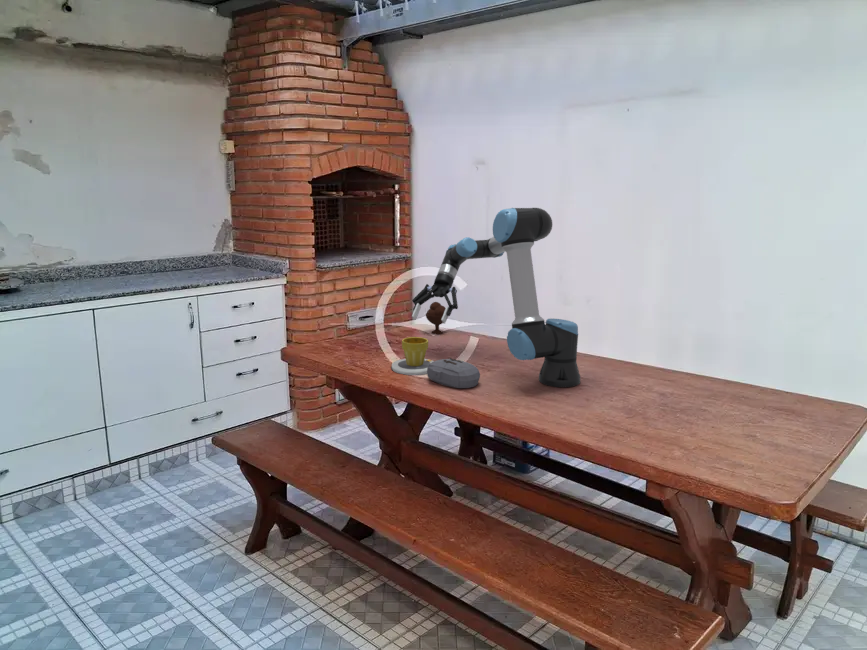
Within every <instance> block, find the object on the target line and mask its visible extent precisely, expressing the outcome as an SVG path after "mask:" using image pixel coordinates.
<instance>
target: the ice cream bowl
mask: <svg viewBox="0 0 867 650" xmlns="http://www.w3.org/2000/svg"><path fill="white" fill-rule="evenodd" d="M445 309H446V306H444V305H442V304H441V303H440V302H438V301H433V302H431V304H430V305H429V309H428V310H427V312H426V313H425V318H426V320H427V321H428V322H429V323H431V324H432V325H433V326H435V327H434V328H435V329H433V330H432V331H431V334H432V335H442V334H443V333H444V332H443V331H442V330H440V325H442V324H444V323H443V322H442V320H441V319H442V317H443V314H444V312H445Z"/></svg>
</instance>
